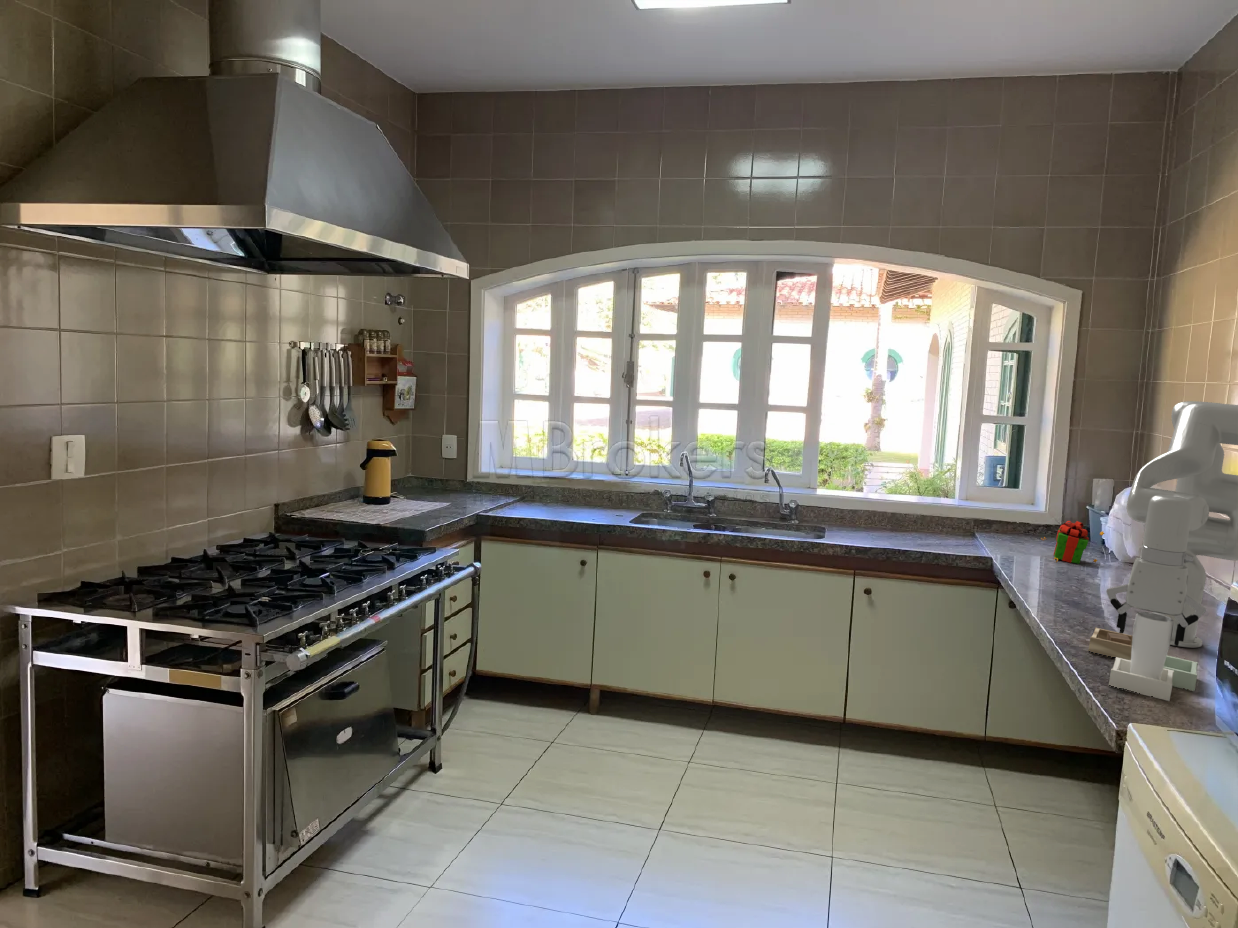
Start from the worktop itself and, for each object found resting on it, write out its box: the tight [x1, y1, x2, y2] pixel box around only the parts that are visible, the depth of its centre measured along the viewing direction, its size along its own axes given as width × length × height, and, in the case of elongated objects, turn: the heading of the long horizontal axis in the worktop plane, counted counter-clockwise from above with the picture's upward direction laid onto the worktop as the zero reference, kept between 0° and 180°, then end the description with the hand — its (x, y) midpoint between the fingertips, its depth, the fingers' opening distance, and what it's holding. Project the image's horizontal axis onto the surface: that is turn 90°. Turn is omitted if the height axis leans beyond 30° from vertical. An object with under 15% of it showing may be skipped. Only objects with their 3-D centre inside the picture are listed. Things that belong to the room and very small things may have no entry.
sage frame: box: [1163, 655, 1198, 692], centre depth 183 cm, size 10×11×4 cm
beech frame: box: [1087, 627, 1133, 661], centre depth 198 cm, size 10×11×4 cm
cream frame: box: [1108, 657, 1174, 702], centre depth 176 cm, size 10×11×4 cm
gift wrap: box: [1040, 520, 1105, 565], centre depth 298 cm, size 20×19×14 cm
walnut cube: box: [1106, 633, 1131, 645], centre depth 198 cm, size 4×4×4 cm
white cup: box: [1130, 611, 1174, 680], centre depth 175 cm, size 7×7×15 cm
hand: (1148, 637), depth 175 cm, fingers open, 9 cm apart
